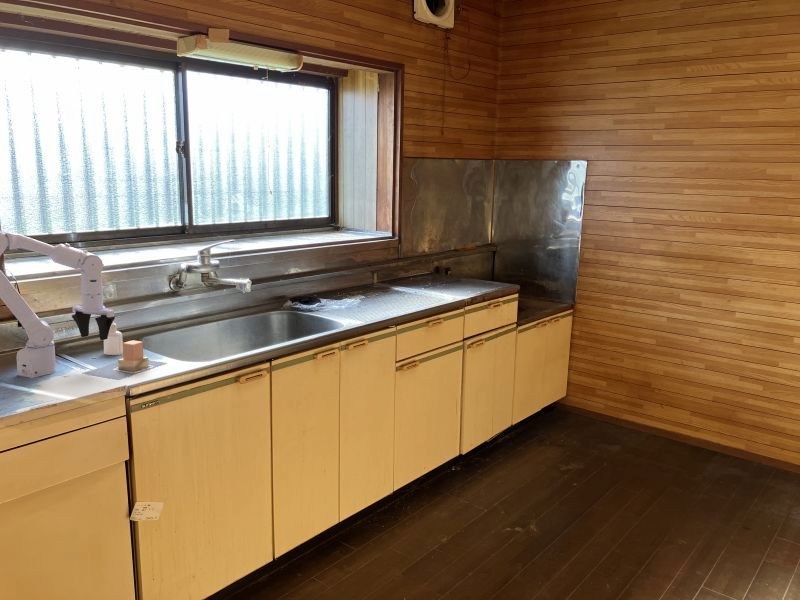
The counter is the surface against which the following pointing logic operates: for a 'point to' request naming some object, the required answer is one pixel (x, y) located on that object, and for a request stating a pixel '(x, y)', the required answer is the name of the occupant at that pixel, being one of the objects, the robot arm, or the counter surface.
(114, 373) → the board
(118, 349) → the eye dropper bottle
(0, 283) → the robot arm
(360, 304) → the counter surface
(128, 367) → the base block
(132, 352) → the top block
